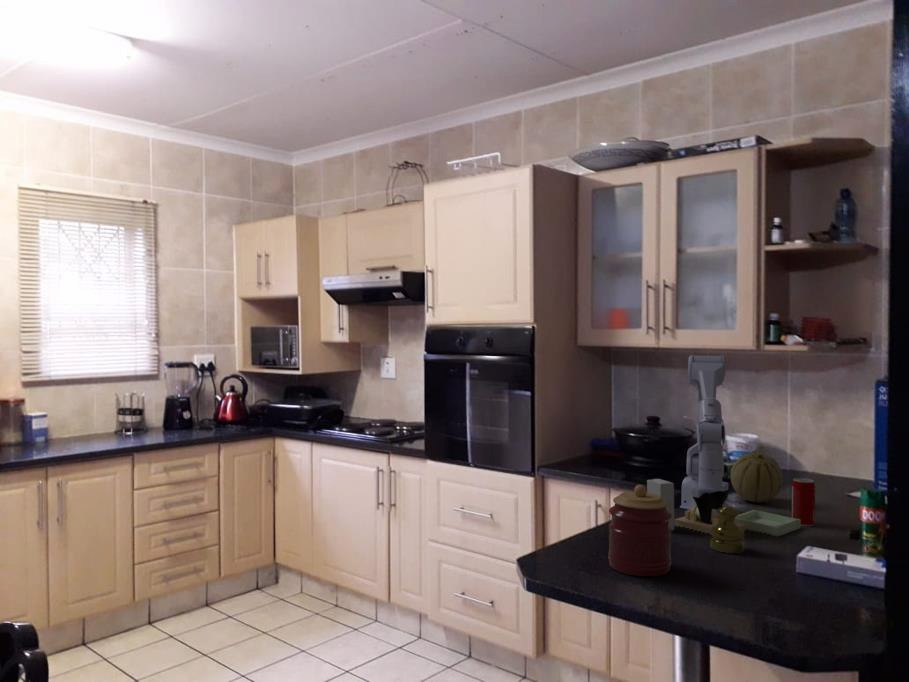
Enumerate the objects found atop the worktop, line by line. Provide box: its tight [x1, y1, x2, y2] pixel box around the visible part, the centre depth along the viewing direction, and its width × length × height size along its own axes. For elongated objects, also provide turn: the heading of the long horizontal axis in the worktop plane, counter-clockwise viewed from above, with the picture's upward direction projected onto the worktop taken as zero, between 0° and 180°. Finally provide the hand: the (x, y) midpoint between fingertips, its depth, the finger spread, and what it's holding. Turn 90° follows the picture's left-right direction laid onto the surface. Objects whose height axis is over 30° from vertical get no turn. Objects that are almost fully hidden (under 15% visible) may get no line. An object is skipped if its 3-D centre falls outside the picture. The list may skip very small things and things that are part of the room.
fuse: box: [692, 505, 721, 523], centre depth 179 cm, size 8×4×4 cm, turn 39°
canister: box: [607, 484, 673, 577], centre depth 148 cm, size 13×13×18 cm
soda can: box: [791, 477, 816, 527], centre depth 184 cm, size 6×6×12 cm
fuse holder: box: [674, 509, 746, 535], centre depth 179 cm, size 14×10×4 cm
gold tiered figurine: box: [709, 505, 745, 554], centre depth 161 cm, size 7×7×10 cm
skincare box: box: [646, 478, 675, 531], centre depth 178 cm, size 6×4×12 cm
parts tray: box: [735, 509, 801, 537], centre depth 181 cm, size 13×13×2 cm
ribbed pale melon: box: [730, 452, 784, 503], centre depth 208 cm, size 15×15×15 cm
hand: (709, 521), depth 179 cm, fingers closed on fuse, 3 cm apart
